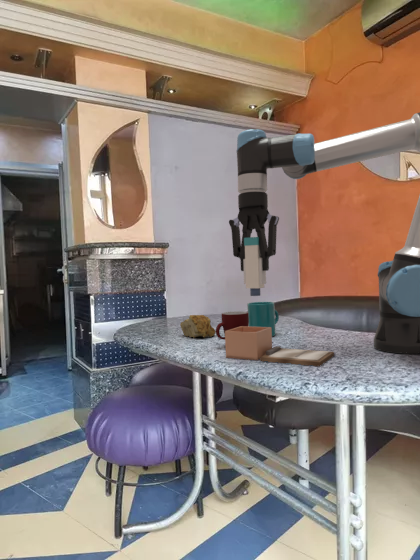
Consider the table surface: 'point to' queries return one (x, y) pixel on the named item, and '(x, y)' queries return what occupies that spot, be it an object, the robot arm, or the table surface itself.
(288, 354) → the open book
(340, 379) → the table surface
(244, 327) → the pen pot
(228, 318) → the mug
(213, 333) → the rock
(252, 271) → the marker
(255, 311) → the cup
